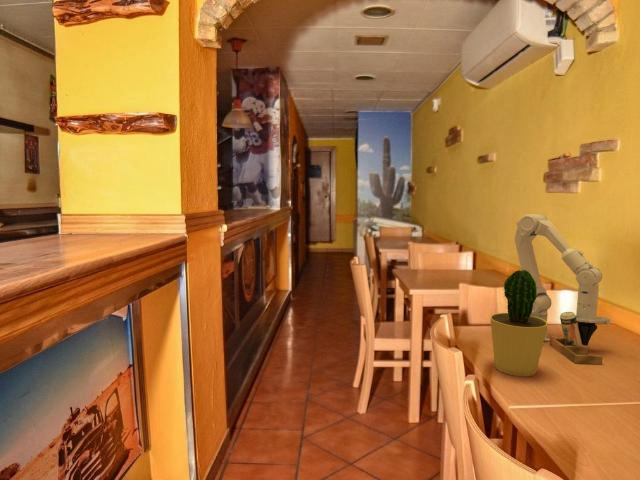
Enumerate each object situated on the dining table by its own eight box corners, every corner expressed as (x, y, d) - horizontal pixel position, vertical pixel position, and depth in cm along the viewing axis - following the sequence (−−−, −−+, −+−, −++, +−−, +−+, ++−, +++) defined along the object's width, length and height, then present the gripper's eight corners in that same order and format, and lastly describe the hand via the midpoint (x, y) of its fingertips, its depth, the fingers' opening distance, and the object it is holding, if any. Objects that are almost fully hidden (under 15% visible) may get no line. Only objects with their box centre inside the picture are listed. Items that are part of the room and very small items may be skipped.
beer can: (563, 349, 154) (555, 315, 153) (573, 344, 156) (566, 310, 155) (575, 352, 150) (568, 317, 148) (586, 347, 151) (578, 312, 150)
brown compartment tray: (575, 363, 141) (575, 355, 140) (549, 345, 158) (550, 337, 157) (602, 364, 140) (602, 356, 140) (573, 345, 157) (574, 338, 157)
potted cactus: (523, 358, 145) (530, 263, 141) (556, 378, 130) (564, 272, 126) (477, 360, 142) (483, 263, 139) (505, 380, 127) (511, 272, 124)
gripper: (570, 306, 147) (567, 348, 149) (617, 307, 147) (613, 349, 148) (560, 301, 154) (557, 341, 156) (604, 302, 154) (601, 342, 155)
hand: (583, 344), depth 152 cm, fingers closed
